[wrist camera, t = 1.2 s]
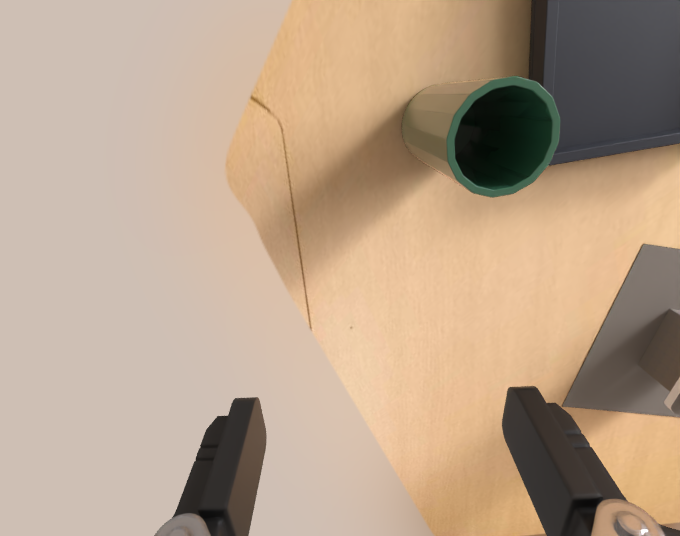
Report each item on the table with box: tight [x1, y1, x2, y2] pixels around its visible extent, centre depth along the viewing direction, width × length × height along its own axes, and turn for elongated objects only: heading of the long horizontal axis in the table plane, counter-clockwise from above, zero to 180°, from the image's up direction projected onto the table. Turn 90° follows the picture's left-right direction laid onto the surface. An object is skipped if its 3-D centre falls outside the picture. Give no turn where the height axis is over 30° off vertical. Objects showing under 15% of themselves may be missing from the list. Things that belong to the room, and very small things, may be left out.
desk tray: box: [529, 0, 680, 166], centre depth 27 cm, size 16×16×2 cm
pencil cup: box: [402, 76, 560, 197], centre depth 24 cm, size 6×6×11 cm
